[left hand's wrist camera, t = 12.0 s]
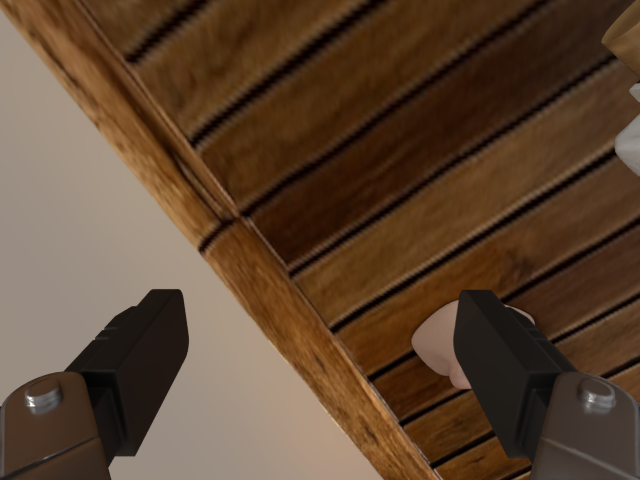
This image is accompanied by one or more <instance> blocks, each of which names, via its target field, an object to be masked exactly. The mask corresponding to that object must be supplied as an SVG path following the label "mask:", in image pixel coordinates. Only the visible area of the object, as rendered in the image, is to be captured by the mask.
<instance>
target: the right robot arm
mask: <svg viewBox="0 0 640 480" xmlns="http://www.w3.org/2000/svg"><path fill="white" fill-rule="evenodd" d="M629 92H630V93H631V94H632V96H633V97H634V98H635V99H636V100H637V101H638V102H640V80H639V81H638V82H637V83H636V84H634V85H633V87H632V88H631V89H630V90H629ZM614 145H615V151H616V153H617V155H618V156H619V158H620V159H621V160H622V161H623V162H624V163H625V164H626V165H627V166H628V167H629V168H630V169H631V170H632V171H633V172H634V173H635V174H637V175H638V176H639V177H640V114H639V115H638V116H637V117H636V118H635V119H634V120H633V121H632V122H631V123H630V124H629V125H628V126H627V127H626V128H625V129H624V130H622V131H621V132H620V133H619V134H618V136H617V137H616V138H615V142H614Z"/></svg>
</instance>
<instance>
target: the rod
mask: <svg viewBox="0 0 640 480" xmlns="http://www.w3.org/2000/svg"><path fill="white" fill-rule="evenodd" d="M602 44H603V45H604V46H605V47H606V48H607V49H608V50H610V51H611V52H612V53H613V54H614V55H615V56H616V57H617V58H618V59H620V60H621V61H622V62H623V63H624V64H625V65H626V66H627V67H628V68H630V69H631V70H632V71H633V72H634V73H635V74H636V75H637V76H638V77H639V78H640V0H636V1H635V2H634V3H633V4H632V5H631V6H630V7H629V8H627V9H626V10H625V11H624V12H623V13H622V14H621V16H620V17H619V18H618V19H617V20H616V21H615V22H614V23H613V24H612V26H611V27H610V28H609V29H608V31H607V32H606V33H605V35H604V37H603V39H602Z"/></svg>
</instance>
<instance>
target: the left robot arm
mask: <svg viewBox="0 0 640 480" xmlns="http://www.w3.org/2000/svg"><path fill="white" fill-rule="evenodd" d="M188 346H189V335H188V327H187V320H186V313H185V306H184V299H183V294H182V292H181V290H179V289H152V290H151V291H150V292H149V293H148V294H147V295H146V296H145V297H144V298H143V300H142V301H141V302H140V303H139V304H138V305H137V306H132V307H130V308H128V309H127V310H125V311H123V312H122V313H120V314H118V315H116V316H115V317H114V318H113V319H112V320H111V321H110V322H109V323H108V325H107V326H106V327H105V328H104V330H102V331H101V332H100V333H99V334H98V335H97V336H96V337H95V340H93V341H92V342H91V343H90V344H89V345H88V346H87V347H86V348H85V349H84V350H83V351H82V352H81V353H80V354H79V356H78V357H77V358H76V359H75V360H74V361H73V362H72V363H71V364H70V365H69V366H68V367H67V368H66V369H65V371H64V372H56V373H51V374H47V375H44V376H41V377H38V378H36V379H34V380H32V381H29V382H27V383H26V384H24V385H22V386H21V387H19V388H18V389H16V390H15V391H14V392H13V393H11V394H10V395H9V396H8V397H7V398H6V400H5V401H4V402H3V404H2V406H1V407H0V480H111V477H110V473H109V469H108V467H109V466H110V464H111V462H112V460H113V459H114V457H115V456H135V455H136V453H137V451H138V449H139V447H140V445H141V444H142V442H143V440H144V438H145V436H146V434H147V432H148V430H149V428H150V426H151V424H152V422H153V420H154V418H155V416H156V414H157V413H158V411H159V409H160V407H161V405H162V403H163V401H164V399H165V397H166V395H167V393H168V391H169V389H170V387H171V385H172V383H173V381H174V380H175V378H176V376H177V374H178V372H179V370H180V368H181V366H182V364H183V362H184V360H185V358H186V355H187V352H188ZM453 347H454V353H455V356H456V359H457V361H458V363H459V365H460V367H461V368H462V370H463V372H464V374H465V376H466V378H467V380H468V382H469V384H470V386H471V388H472V390H473V391H474V393H475V395H476V397H477V399H478V401H479V403H480V405H481V407H482V409H483V411H484V413H485V414H486V416H487V418H488V420H489V422H490V424H491V426H492V428H493V430H494V432H495V434H496V436H497V437H498V439H499V441H500V443H501V445H502V447H503V449H504V451H505V453H506V455H507V457H508V458H529V460H530V461H531V463H532V469H531V473H530V477H529V480H640V407H639V406H638V404H637V402H636V401H635V400H634V398H633V397H632V396H631V395H630V394H629V393H627V392H626V391H625V390H624V389H622V388H621V387H619V386H618V385H616V384H614V383H613V382H611V381H609V380H606V379H604V378H602V377H599V376H596V375H593V374H589V373H584V372H579V371H578V370H577V369H576V368H575V367H574V366H573V365H572V364H571V363H570V362H569V361H568V360H567V358H566V357H565V356H564V355H563V354H562V353H561V352H560V351H559V350H558V349H557V348H556V347H555V346H554V345H553V344H552V343H551V342H550V341H548V338H547V337H546V336H545V335H544V334H543V333H542V332H541V331H538V328H537V327H536V326H535V325H534V324H533V322H532V321H531V320H530V319H529V318H528V317H527V316H525V315H523V314H521V313H520V312H518V311H516V310H515V309H513V308H511V307H506V306H505V305H504V304H503V303H502V302H501V301H500V300H499V299H498V297H497V296H496V295H495V294H494V293H493V292H492V291H491V290H462V291H461V293H460V295H459V300H458V307H457V314H456V321H455V328H454V335H453Z"/></svg>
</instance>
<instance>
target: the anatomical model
mask: <svg viewBox="0 0 640 480" xmlns="http://www.w3.org/2000/svg"><path fill="white" fill-rule="evenodd" d="M505 306H506V307H510V306H507V305H505ZM457 307H458V300H456V301H453V302H451V303H449V304H447V305H445V306H444V307H442V308H440V309H439V310H438V311H436V312H435V313H434V314H432V315H431V316H430V317H429V318H428V319H427V320H426V321H425V322H424V323H423V324H422V325H421V326H420V327H419V328H418V329H417V330H416V332H415V333H414V335H413V337H412V346H413V348H414V350H415V351H416V353H417V354H418V355H419V356H420V358H421V359H422V360H423V361H424V362H425V363H426V364H427V365H428V366H429V367H430V368H431V369H433V370H434V371H435V372H437V373H438V374H441V375H444V376H449V377H450V380H451V382H452V384H453V385H454V386H455V387H457V388H459V389H472V388H471V386H470V384H469V382H468V380H467V378H466V376H465V374H464V372H463V370H462V368H461V367H460V365H459V363H458V361H457V359H456V356H455V353H454V347H453V335H454V328H455V321H456V314H457ZM511 308H513V307H511ZM513 309H515V310H516V311H518V312H520V313H521V314H523V315H525V316H527V317H528V318H529V319H530V320H531V321H532V322H533V324H534V325H535V323H534V320H533V318H532V317H531V316H530V315H529V314H527V313H525V312H523V311H521V310H519V309H516V308H513Z"/></svg>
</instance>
